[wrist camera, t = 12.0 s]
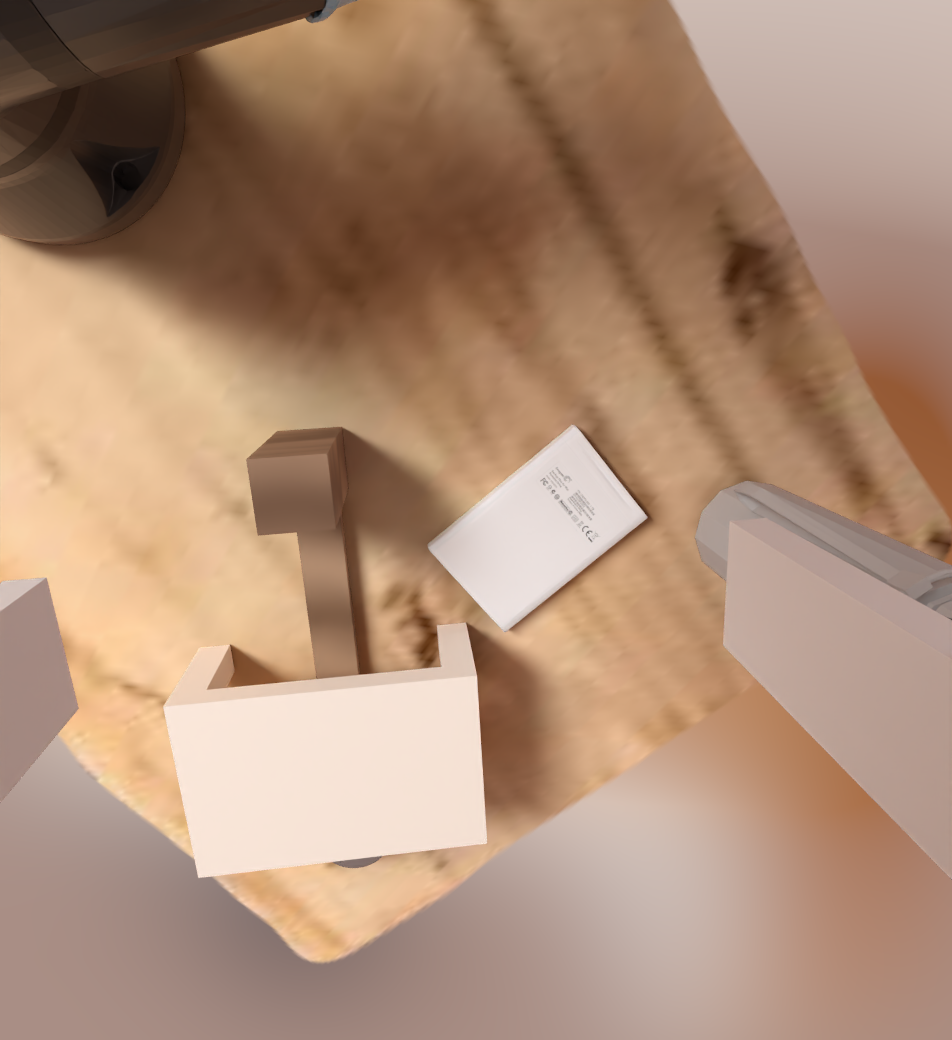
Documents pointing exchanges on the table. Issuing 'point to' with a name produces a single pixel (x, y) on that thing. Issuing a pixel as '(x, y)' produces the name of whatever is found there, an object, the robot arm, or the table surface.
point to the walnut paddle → (311, 532)
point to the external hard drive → (537, 529)
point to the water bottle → (825, 541)
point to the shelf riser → (328, 762)
